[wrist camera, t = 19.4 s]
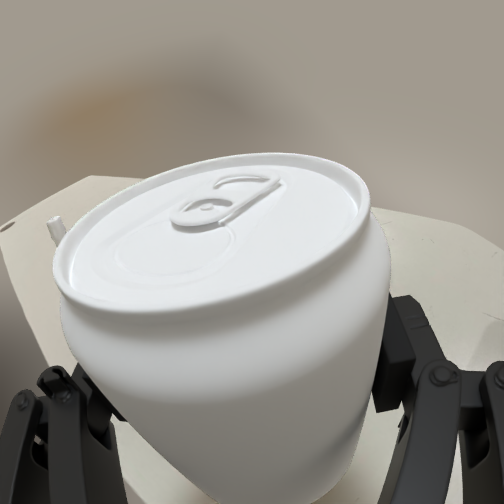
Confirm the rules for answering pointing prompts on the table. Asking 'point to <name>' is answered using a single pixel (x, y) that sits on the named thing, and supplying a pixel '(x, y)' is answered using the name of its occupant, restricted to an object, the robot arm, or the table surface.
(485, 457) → the robot arm
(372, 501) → the table surface
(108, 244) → the beverage can
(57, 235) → the candle
